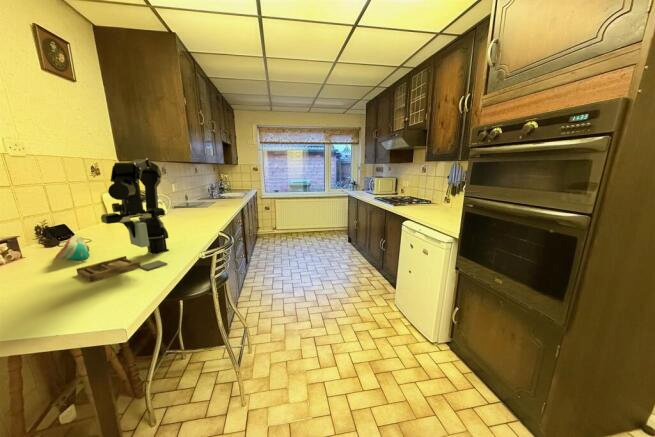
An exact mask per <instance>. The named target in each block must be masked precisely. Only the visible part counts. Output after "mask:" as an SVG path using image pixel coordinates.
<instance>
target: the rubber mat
mask: <svg viewBox="0 0 655 437" xmlns="http://www.w3.org/2000/svg"><path fill="white" fill-rule="evenodd" d="M167 265H168V262H165V261H161V260H159V259H158V260H154V261H152V262H148V263H145V264H140V267H139V268H141V269H143V270H146V271H152V270H155V269H158V268H162V267H165V266H167Z"/></svg>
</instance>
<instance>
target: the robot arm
mask: <svg viewBox="0 0 655 437" xmlns="http://www.w3.org/2000/svg"><path fill="white" fill-rule="evenodd" d="M111 169H112V170H111V174H110V182H111V183H112V184H110V186H109V187H108V190H107V191H108V193H107V194H108V195H109V197H111V198H112V199H114V200H118V201H121V204H120V203H119V202H116V203H114V202H113V203H111V209H112V213H110V212H109V213H103V214H101V217H100V220H101V223H103V224H107V225H109V224H115V223H116V224H117V223H120V224H123V226H124V227H125V228H126V229H127V230H128V233H129V232H130V233H131V235H132V236H133V238H135V229H134V224H133V221H134V220H131V219H132V218H138V221H140V222H144V223H146V227H147V233H148V239H149V245H150V246H147V253H149V254H152V255H158V254H161V253H165V252H168V251H170V249H168V246H167V240H166V239H169V233H168V231H167V229H166V227H165V225H164V222H163V221H162V220H161V219H160V217H161V216H165V215H166V213H165V212H166V211H165V209H164V208H163V207H159V198H158V187H159V185H160V184H161V182H162V180H161V178H162V176H163V175H162V170H161V169H160V167H159V166H158V165H157V164H156V163H154V162H152V160H151V158H148V157H145V158H143V157H138V158H135V159H133V160H131V161H128V162H115V163H114V164H113V166H112V168H111ZM140 182H141V184H142V185H143V186H144V194H145V195H144V196H145V200H144V199H143V197H142V192H141V188H140V187H141V186H140ZM144 201H145V209H144V204H143V202H144Z"/></svg>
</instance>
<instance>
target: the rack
mask: <svg viewBox="0 0 655 437" xmlns="http://www.w3.org/2000/svg"><path fill="white" fill-rule="evenodd" d="M117 261H123V262H127V263H129V264H126V265H123V266H119V267H116V268H110V267H108V264H110V263H114V262H117ZM140 266H141V262H140V260H137V261H133V260H131V259H128V258H127V256H126V255H125V256H121V257H120V256H119V257H116V258H113V259H109V260H106V261H101V262H97V263H94V264H89V265H85V266H81V267H78V268H76V273H77V276H79V277H82V279H84V280H87V281H88V282H90V283H93V282H97V281H100V280H103V279H106V278H109V277H112V276H113V277H114V276H116V275H120V274H122V273H123V274H124V273H126V272H130V271H133V270H136V269H139V268H140ZM99 270H101V271H99Z"/></svg>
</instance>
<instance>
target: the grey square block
mask: <svg viewBox="0 0 655 437" xmlns="http://www.w3.org/2000/svg"><path fill="white" fill-rule="evenodd" d="M132 221H133V224H134V229H135V238H133V236H132V235H131V233H130V232H129V231H128V233H129V234H128V235H129V240H130V244H131V245H133V246H136V247H139V248H142V249H143V248H146V247H147V246H150V245H149V239H148V233H147V227H146V223H144V222H140V220H135V219H134V220H132Z"/></svg>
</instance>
